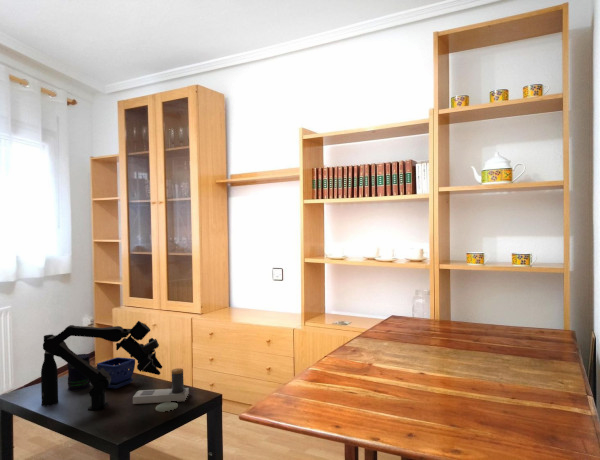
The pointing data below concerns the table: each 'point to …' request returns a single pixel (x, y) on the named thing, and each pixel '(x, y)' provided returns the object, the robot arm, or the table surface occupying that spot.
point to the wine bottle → (49, 378)
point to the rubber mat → (166, 406)
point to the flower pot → (118, 371)
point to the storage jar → (78, 376)
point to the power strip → (158, 396)
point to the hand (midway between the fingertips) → (160, 370)
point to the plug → (177, 381)
